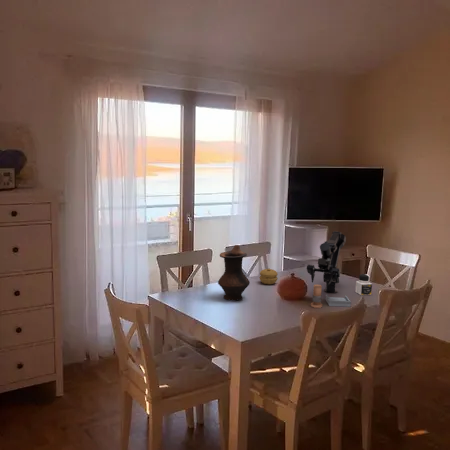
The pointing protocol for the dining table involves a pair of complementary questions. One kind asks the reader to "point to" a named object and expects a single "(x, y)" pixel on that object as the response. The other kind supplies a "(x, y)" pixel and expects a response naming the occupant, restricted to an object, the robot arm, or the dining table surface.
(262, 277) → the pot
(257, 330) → the dining table surface
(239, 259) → the dark brown vase
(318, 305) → the wooden spool
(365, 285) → the medicine bottle
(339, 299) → the notched board
